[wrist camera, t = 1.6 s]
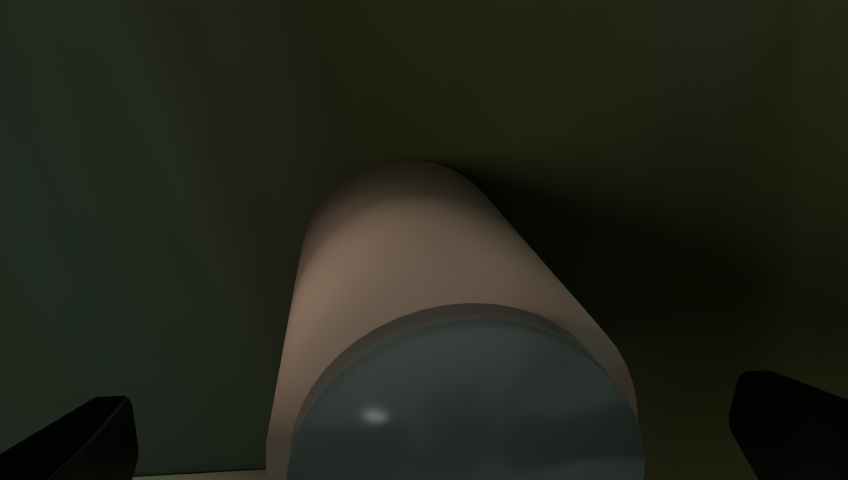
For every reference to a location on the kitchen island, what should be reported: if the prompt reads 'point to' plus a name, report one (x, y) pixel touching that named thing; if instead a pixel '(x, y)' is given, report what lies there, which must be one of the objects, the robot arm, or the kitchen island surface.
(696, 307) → the kitchen island surface
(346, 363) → the spice jar
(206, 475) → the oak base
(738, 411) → the robot arm
